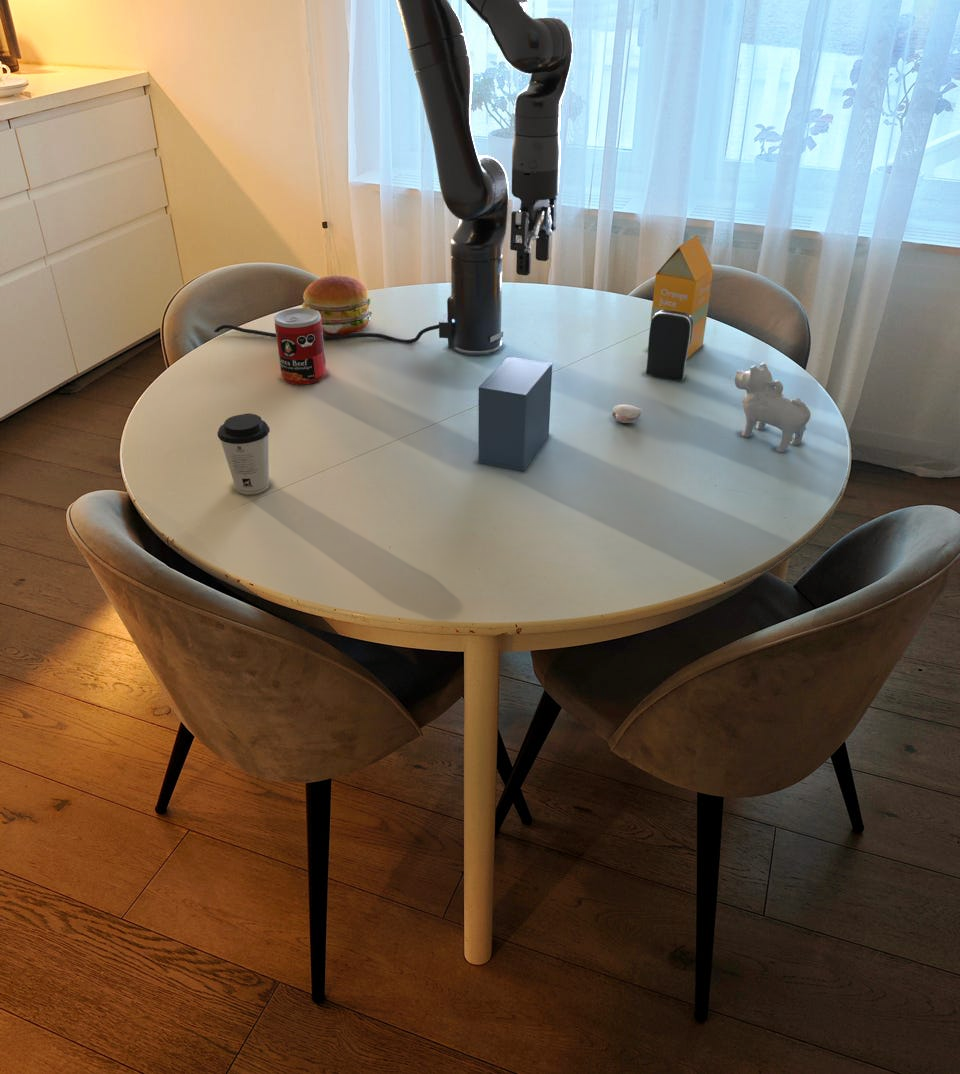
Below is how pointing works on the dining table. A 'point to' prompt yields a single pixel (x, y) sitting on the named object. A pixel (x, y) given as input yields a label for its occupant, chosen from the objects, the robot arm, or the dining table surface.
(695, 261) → the orange juice
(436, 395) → the dining table surface
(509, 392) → the blue open box
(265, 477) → the coffee cup
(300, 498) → the dining table surface
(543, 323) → the dining table surface
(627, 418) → the cream rounded dome
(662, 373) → the battery charger
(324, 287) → the burger
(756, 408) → the dog figurine
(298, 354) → the canned food
